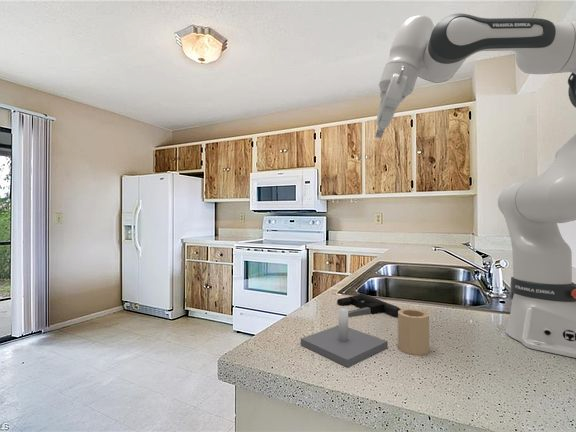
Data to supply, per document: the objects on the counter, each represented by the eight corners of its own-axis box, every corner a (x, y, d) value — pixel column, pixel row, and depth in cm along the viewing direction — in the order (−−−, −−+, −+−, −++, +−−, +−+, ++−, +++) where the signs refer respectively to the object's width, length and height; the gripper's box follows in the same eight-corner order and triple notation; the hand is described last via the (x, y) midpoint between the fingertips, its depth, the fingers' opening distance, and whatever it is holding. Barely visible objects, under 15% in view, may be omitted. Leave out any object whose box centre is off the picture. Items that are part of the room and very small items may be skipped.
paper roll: (434, 349, 69) (434, 313, 69) (420, 357, 65) (419, 319, 65) (407, 340, 74) (407, 307, 74) (392, 347, 70) (392, 312, 70)
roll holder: (387, 347, 70) (387, 310, 70) (347, 367, 61) (347, 324, 61) (340, 330, 81) (340, 298, 81) (300, 344, 72) (300, 308, 72)
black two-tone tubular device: (360, 316, 86) (405, 306, 92) (325, 298, 105) (365, 291, 110) (360, 328, 86) (406, 317, 92) (326, 308, 105) (365, 300, 111)
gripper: (419, 65, 70) (398, 124, 71) (402, 99, 90) (386, 144, 91) (391, 59, 71) (371, 117, 72) (381, 94, 91) (365, 139, 92)
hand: (380, 133), depth 81 cm, fingers open, 8 cm apart
